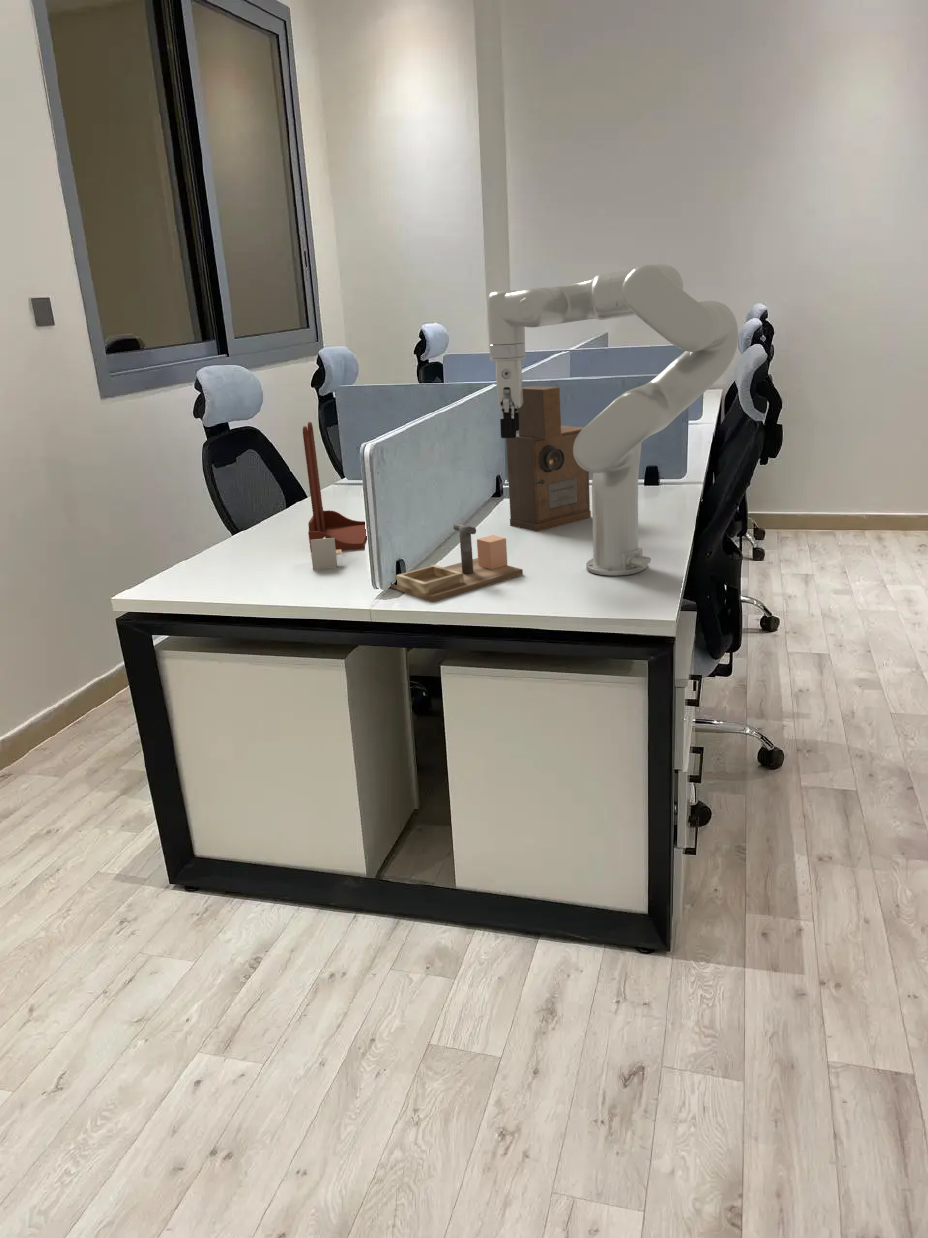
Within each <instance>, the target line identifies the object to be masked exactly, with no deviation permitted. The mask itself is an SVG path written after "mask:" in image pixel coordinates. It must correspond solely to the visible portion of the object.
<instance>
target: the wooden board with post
mask: <svg viewBox="0 0 928 1238" xmlns="http://www.w3.org/2000/svg"><path fill="white" fill-rule="evenodd" d="M453 529H454V530H455V531H458V533H459V545H460V546H459V547H460V561H461V562H458V563H454V564H451V565H447V566H441V565H439V564H438V565H437V564H431V565H428V566H425V567H421V568H418V569H414V570H410V571H407V572H402V573H398V574H396V575H395V576H396V578H395V579H396V580H397V585H395V584H392V583H390V588H391V589H394V590H397V591H400V592H403V593H406V594H408V595H412V596H414V597H417V598H420V599H421V600H422V599H423V600H426V601H428V602H432V603H434V602H437V601H440V600H444V599H447V598H450V597H453V596H457V595H461V594H463V593H467V592H470V591H474V590H476V589H481V588H483V587H487V586H490V585H493V584H496V583H500V582H504V581H507V580H510V579H513V578H516V577H520V576H522V575H524V574H523V572H524V570H523V569H522V568H519V567H515V566H512V565H508V564H507V565H505V566H502V567H498V568H495V569H488V568H485V567H481V566H479V565H478V557H476V558H473V548H472V547H473V546H472V544H473V543H472V535H475V534H476V533H477V528H476V527H474V526H473V527H472V526H470V525H464V524H460V523H454V524H453Z"/></svg>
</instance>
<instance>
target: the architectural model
mask: <svg viewBox="0 0 928 1238" xmlns="http://www.w3.org/2000/svg"><path fill="white" fill-rule="evenodd" d="M310 542H311V550H312V552H311V550H310V554H311V555H310V556H311V565H312V570H323V569H331V568H338V567H339V565H338V558H337V555H342V552H343V551H341V549H340V550H336V548H335V539H334V538H326V539H325V537H324V538H323V539H316V540H310ZM310 542H309V543H310Z"/></svg>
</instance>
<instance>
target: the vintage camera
mask: <svg viewBox="0 0 928 1238" xmlns="http://www.w3.org/2000/svg"><path fill="white" fill-rule="evenodd" d="M522 387H523V386H522ZM560 393H561V389H560V386H545V385H544V386H542V385H541V386H539V385H531V386H525V387H523V404H522V406H521V407H520V408H518V412H519V430H518V433H516V437H515V438H505V439H506V440H505V441H506V458H507V459H506V461H507V475H508V476H507V478H508V496H509V513H510V514H509V515H510V518H509V527H514V528H519V529H523V530H527V531H530V532H536V533H537V532H541V531H543V530H548V529H551V528H554V527H559V526H564V525H567V524H570V523H571V524H572V523H575V522H578V521H581V520H586V519H590V518H591V517H592V515H591V514H592V513H591V512H592V511H591V502H590V472H588V471H586V470H584V469H582V468H581V467H580V466H579V465H578V464H577V462H576V460H575V458H574V454H573V446H574V442H575V439H576V437H577V435H578V434H579V432H580V431H581V430H582V429H583V428H584V427H582V426H572V425H570V426H569V425H562V418H561V417H562V416H561V413H562V412H561V394H560Z"/></svg>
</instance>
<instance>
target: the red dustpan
mask: <svg viewBox="0 0 928 1238" xmlns="http://www.w3.org/2000/svg"><path fill="white" fill-rule="evenodd" d="M313 427H314V426H313V424H312V422H311V421H308V422H307V426H306V425H305V426H304V425H303V427H302V437H303V446H304V455H305V461H306V470H307V477H308V485H309V493H310V500H311V501H310V502H311V510H312V517H311V518H310V520H309V521H308V524H307V525H308V533H307V534H308V540H309V549H310V553H311V552H312V550H311V542H310V540H316V539H323V538H324V537H325V539H326V538H334V539H335V548H336V550H340V549H341V551H342V552H343V551H345V552H346V551H357V550H364V549H365V546H366V544H367V542H368V541H367V540H368V539H367V536H366V529H365V521H364V520H363V521H361V520H353V519H350V518H348V517H346V516H345V515H342V514H341V513H340V512H338V511H335V510H330V509H329V510H324V507H323V499H322V492H321V483H320V477H319V476H320V475H319V467H318V459H317V458H318V457H317V451H316V442H315V434H314V433H315V432H314V428H313Z"/></svg>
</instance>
